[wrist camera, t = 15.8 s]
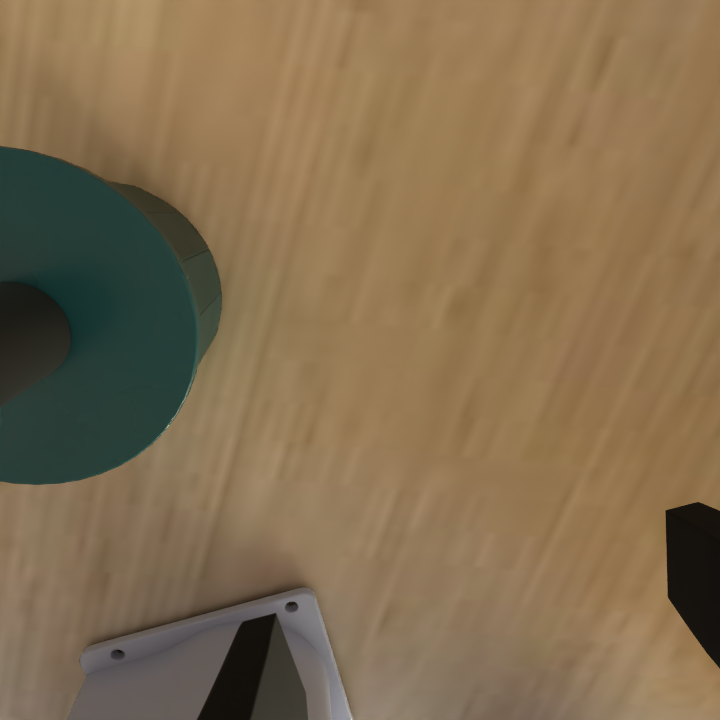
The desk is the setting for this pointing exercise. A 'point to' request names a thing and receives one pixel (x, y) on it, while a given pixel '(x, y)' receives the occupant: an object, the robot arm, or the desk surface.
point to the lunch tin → (186, 258)
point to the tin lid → (85, 323)
